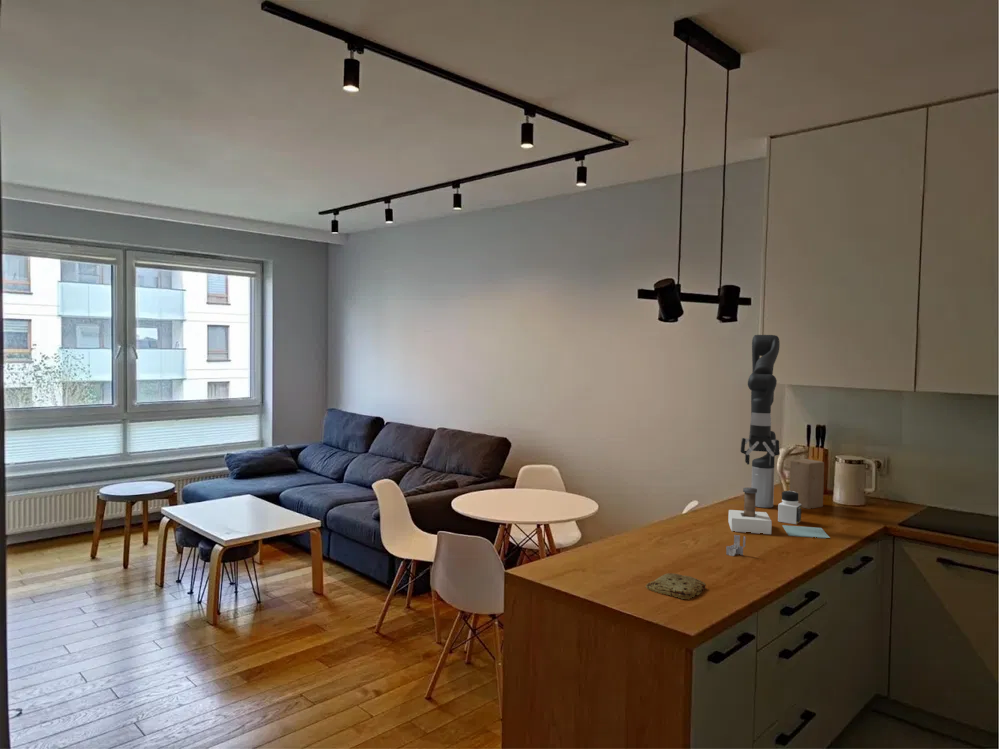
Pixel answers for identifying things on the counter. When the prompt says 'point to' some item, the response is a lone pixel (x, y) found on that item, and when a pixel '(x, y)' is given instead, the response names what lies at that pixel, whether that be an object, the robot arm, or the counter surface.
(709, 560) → the counter surface
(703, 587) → the pastry
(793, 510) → the medicine bottle
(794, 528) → the mat
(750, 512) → the pin
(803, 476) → the wooden block
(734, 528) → the eye block
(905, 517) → the counter surface
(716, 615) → the counter surface
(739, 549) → the grey upright blocky piece
